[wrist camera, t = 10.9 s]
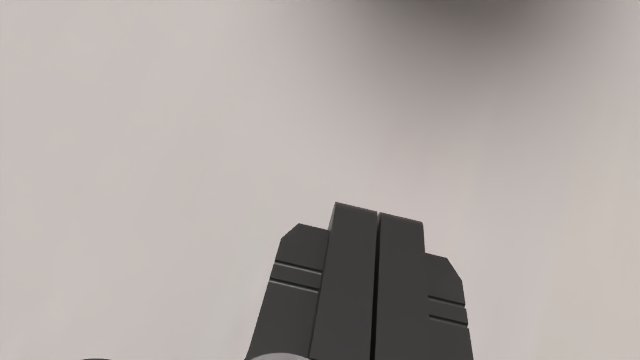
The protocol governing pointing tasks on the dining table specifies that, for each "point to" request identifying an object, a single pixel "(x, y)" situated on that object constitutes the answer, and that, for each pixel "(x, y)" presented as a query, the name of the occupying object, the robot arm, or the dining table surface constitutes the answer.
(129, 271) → the dining table surface
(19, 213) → the dining table surface
